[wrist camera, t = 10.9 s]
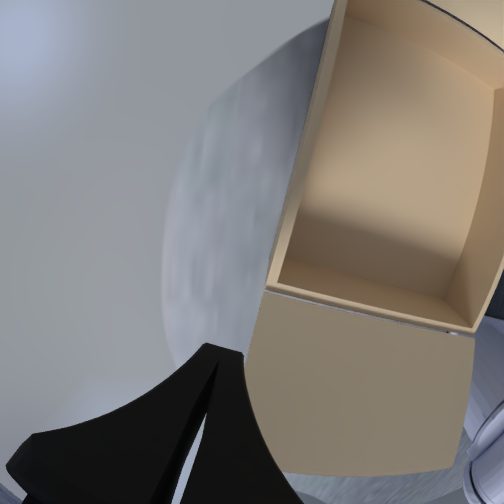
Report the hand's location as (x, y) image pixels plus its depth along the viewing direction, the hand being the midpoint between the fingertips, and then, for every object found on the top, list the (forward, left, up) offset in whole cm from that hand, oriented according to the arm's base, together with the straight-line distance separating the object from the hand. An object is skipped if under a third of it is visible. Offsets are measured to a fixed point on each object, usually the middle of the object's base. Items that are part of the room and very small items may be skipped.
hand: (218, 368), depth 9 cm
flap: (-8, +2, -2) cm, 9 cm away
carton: (-8, -10, -10) cm, 16 cm away
